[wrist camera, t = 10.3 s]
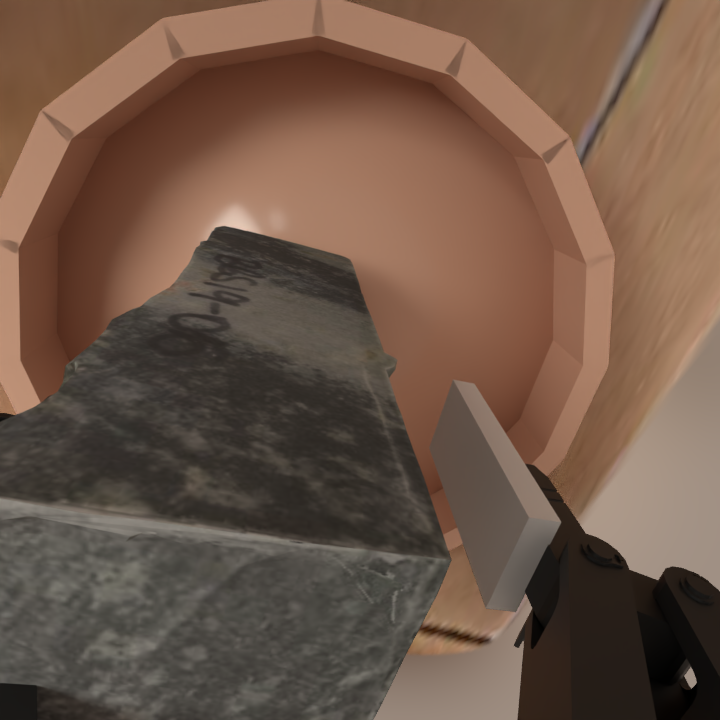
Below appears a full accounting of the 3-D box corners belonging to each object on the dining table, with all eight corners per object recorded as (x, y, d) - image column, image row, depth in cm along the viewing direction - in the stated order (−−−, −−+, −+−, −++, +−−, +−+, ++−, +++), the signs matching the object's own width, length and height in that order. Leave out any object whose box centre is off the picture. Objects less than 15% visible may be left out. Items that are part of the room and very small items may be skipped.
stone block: (177, 434, 21) (302, 462, 22) (-87, 952, 7) (263, 969, 8) (220, 218, 17) (364, 261, 18) (-114, 460, 4) (463, 571, 5)
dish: (40, 496, 24) (-3, 551, 21) (38, -67, 16) (-33, -119, 12) (472, 554, 28) (492, 609, 24) (658, 122, 19) (726, 119, 16)
